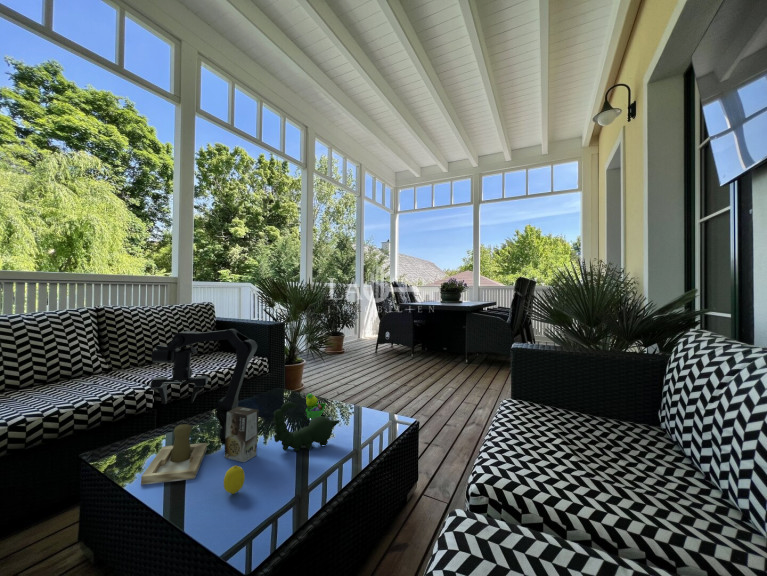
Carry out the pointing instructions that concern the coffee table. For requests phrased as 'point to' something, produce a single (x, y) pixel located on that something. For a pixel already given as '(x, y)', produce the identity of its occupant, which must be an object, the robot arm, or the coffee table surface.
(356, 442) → the coffee table surface
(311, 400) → the fruit basket
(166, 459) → the keyhole plate
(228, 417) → the coffee box
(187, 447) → the cork
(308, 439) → the toy figurine
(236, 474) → the lemon
